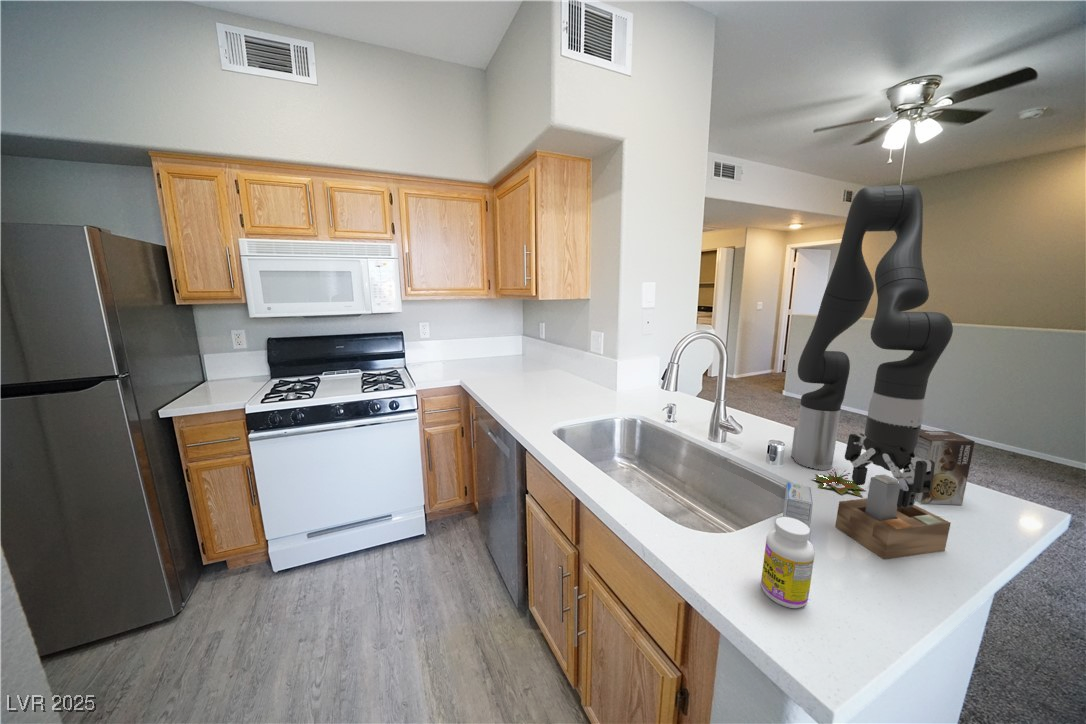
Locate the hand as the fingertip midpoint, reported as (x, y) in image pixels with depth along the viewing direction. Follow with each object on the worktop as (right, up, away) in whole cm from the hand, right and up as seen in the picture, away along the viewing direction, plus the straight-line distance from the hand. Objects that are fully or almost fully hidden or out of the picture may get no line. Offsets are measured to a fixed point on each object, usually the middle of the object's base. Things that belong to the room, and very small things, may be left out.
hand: (879, 495), depth 74 cm
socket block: (+4, -10, +2) cm, 11 cm away
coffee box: (+27, -7, +17) cm, 33 cm away
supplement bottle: (-27, -13, -11) cm, 32 cm away
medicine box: (-13, -9, +6) cm, 17 cm away
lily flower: (+10, -6, +23) cm, 26 cm away
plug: (+1, -7, +1) cm, 7 cm away
